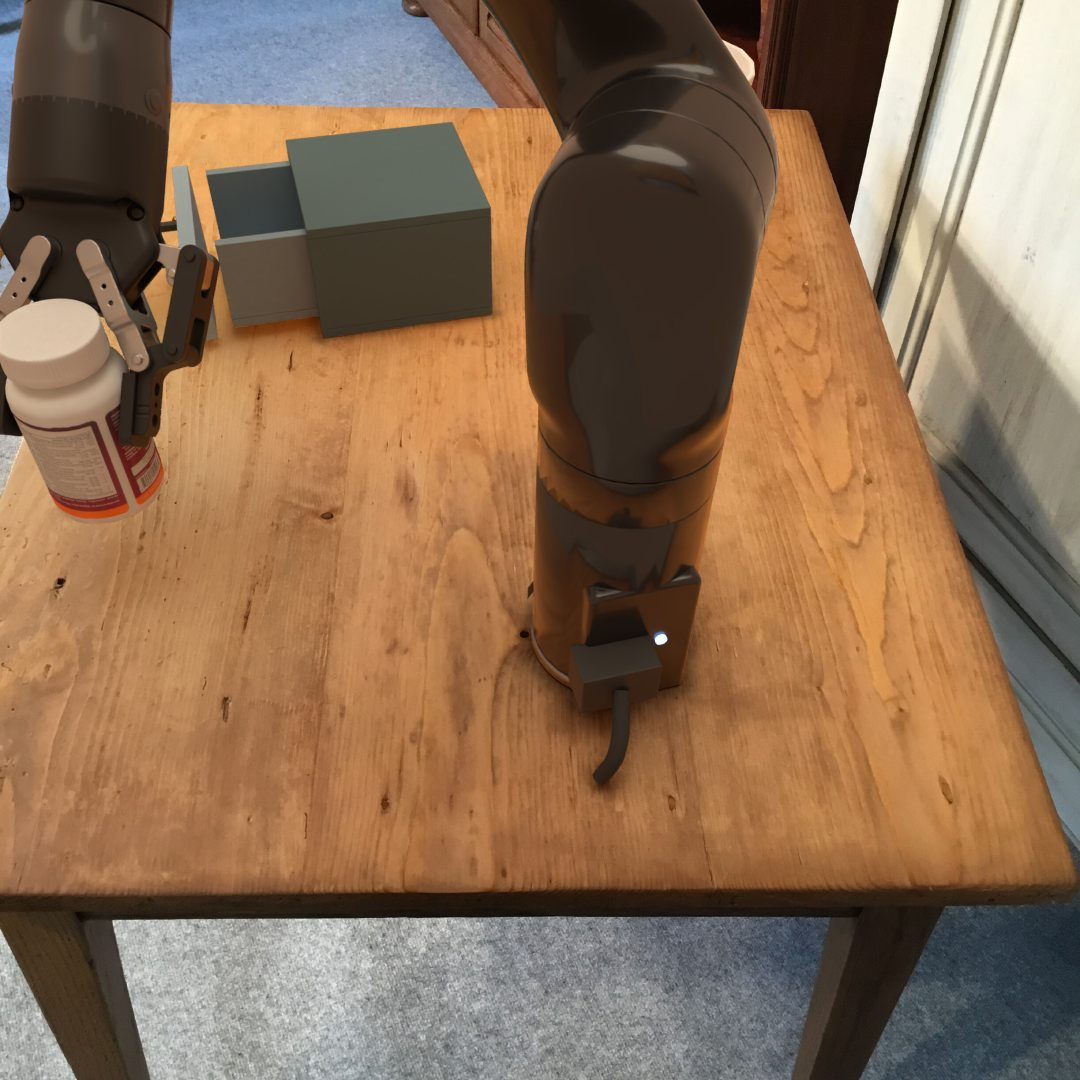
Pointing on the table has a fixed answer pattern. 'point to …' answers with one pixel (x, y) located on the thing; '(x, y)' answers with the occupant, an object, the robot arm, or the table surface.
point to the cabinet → (393, 228)
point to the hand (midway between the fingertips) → (69, 439)
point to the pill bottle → (75, 411)
